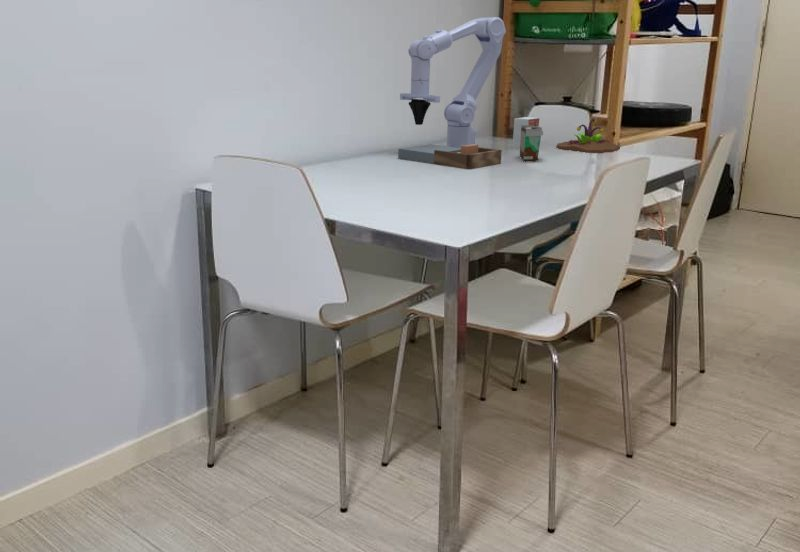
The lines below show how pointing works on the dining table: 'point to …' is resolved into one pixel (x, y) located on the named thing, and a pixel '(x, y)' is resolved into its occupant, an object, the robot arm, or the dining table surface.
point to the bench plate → (423, 152)
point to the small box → (517, 128)
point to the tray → (468, 158)
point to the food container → (530, 142)
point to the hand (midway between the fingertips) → (418, 124)
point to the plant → (589, 141)
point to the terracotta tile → (469, 149)
